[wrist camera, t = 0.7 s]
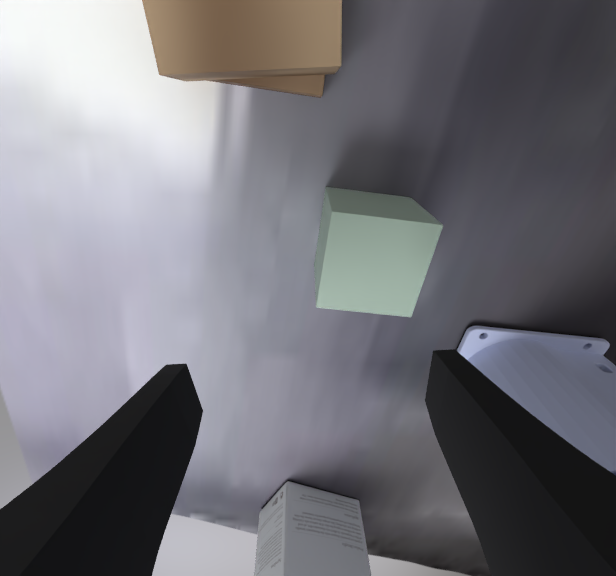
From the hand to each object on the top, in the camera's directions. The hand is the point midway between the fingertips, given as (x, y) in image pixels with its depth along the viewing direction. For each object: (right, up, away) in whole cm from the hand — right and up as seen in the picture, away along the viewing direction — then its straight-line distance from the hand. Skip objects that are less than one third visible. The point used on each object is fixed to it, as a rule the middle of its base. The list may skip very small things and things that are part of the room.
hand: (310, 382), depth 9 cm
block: (+3, +6, +8) cm, 10 cm away
